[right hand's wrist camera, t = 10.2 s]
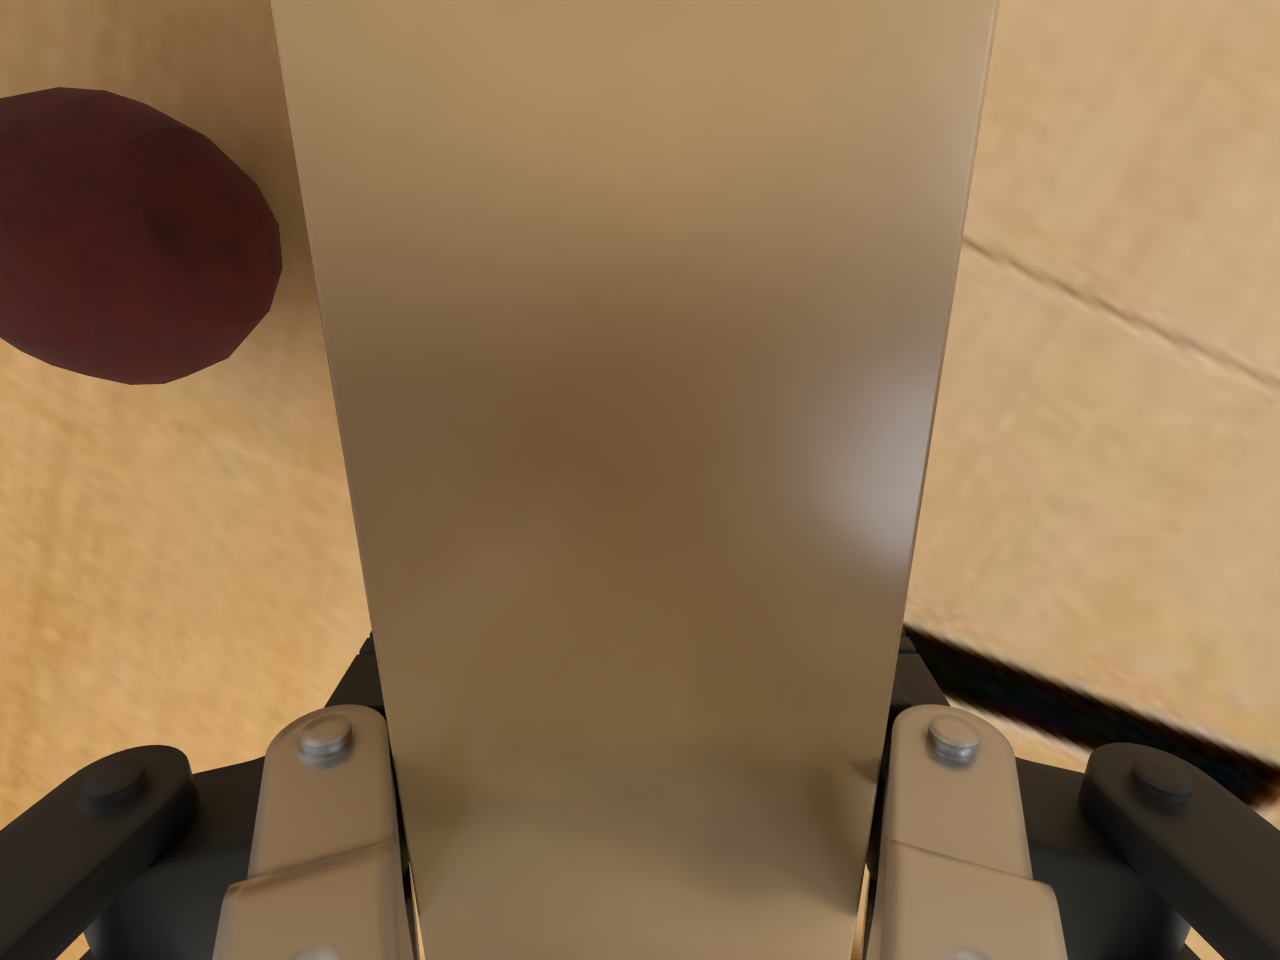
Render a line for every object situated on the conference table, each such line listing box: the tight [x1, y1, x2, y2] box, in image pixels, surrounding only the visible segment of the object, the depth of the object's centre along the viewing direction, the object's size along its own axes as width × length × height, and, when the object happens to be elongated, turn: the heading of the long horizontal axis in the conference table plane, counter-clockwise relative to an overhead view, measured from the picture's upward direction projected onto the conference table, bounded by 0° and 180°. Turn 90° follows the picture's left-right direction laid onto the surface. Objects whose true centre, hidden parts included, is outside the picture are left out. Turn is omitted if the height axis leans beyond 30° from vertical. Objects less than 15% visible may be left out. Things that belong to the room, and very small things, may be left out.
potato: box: [0, 87, 282, 385], centre depth 19 cm, size 7×8×7 cm
